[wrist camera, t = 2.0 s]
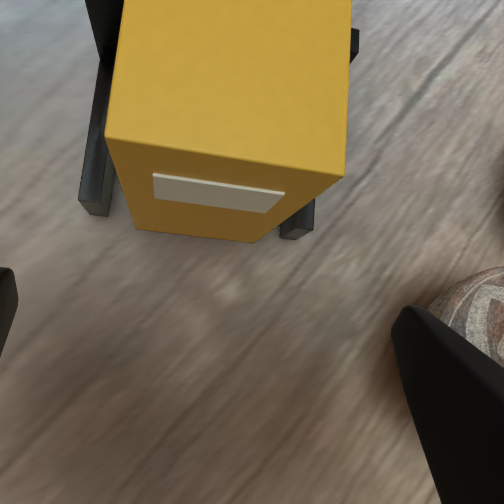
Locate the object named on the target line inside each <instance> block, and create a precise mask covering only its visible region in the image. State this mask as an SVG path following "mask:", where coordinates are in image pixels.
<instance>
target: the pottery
mask: <svg viewBox="0 0 504 504" xmlns="http://www.w3.org/2000/svg"><path fill="white" fill-rule="evenodd" d="M426 310H428V311H429V312H430V313H432V314H433V315H434V316H436V317H437V318H438V319H440V320H441V321H442V322H444V323H445V324H446V325H448V326H449V327H450V328H452V329H453V330H454V331H456V332H457V333H458V334H460V335H461V336H462V337H464V338H465V339H466V340H468V341H469V342H470V343H472V344H473V345H474V346H475V347H477V348H478V349H479V350H481V351H482V352H483V353H485V354H486V355H487V356H489V357H490V358H491V359H493V360H494V361H495V362H497V363H498V364H499V365H501V366H502V367H503V368H504V267H496V268H492V269H488V270H485V271H482V272H480V273H477V274H474V275H472V276H469V277H467V278H465V279H464V280H462V281H459V282H458V283H456V284H455V285H453V286H452V287H450V288H449V289H448V290H447V291H444V292H443V293H442V294H441V295H440V296H439V297H437V298H436V299H435V300H434V301H433V302H432V303H431V304H430V305H429V307H427V309H426Z"/></svg>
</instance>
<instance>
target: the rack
mask: <svg viewBox="0 0 504 504" xmlns="http://www.w3.org/2000/svg"><path fill="white" fill-rule="evenodd" d="M85 3H86V7H87V11H88V15H89V19H90V23H91V27H92V30H93V34H94V38H95V42H96V46H97V50H98V54H99V58H100V61H99V68H98V74H97V80H96V87H95V93H94V99H93V106H92V112H91V119H90V125H89V131H88V138H87V144H86V150H85V157H84V163H83V169H82V176H81V182H80V189H79V195H78V200H79V202H80V203H81V204H82V205H83V207H84V208H85V209H86V211H87V212H88V213H89V214H90V215H97V216H105V217H108V216H109V209H110V202H111V195H112V188H113V181H114V174H115V166H114V163H113V160H112V157H111V154H110V151H109V149H108V146H107V143H106V140H105V137H104V132H105V126H106V119H107V112H108V106H109V99H110V92H111V86H112V79H113V72H114V65H115V59H116V52H117V45H118V39H119V32H120V25H121V19H122V12H123V5H124V0H85ZM358 53H359V30H358V29H354V28H351V40H350V63H351V62H352V61H353V60H354V58H355V57H356V56H357V54H358ZM349 65H350V64H349ZM314 208H315V198H314V199H313V200H311V201H310V202H309V203H307V204H306V205H305V206H303V207H302V208H301V209H299V210H298V211H297V212H295V213H294V214H293V215H291V216H290V217H289V218H287V219H286V220H285V221H283V222H282V223H281V227H280V238H283V239H291V240H296V239H298V238H300V237H301V236H303V235H305V234H307V233H309V232H311V231H313V227H314Z"/></svg>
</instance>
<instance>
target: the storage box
mask: <svg viewBox="0 0 504 504" xmlns="http://www.w3.org/2000/svg"><path fill="white" fill-rule="evenodd" d="M351 15H352V0H124V5H123V12H122V19H121V25H120V32H119V39H118V45H117V52H116V59H115V65H114V72H113V79H112V86H111V92H110V99H109V106H108V112H107V119H106V126H105V132H104V137H105V140H106V143H107V146H108V149H109V151H110V154H111V157H112V160H113V163H114V166H115V169H116V172H117V175H118V178H119V181H120V184H121V186H122V189H123V192H124V195H125V198H126V201H127V204H128V207H129V210H130V213H131V216H132V219H133V222H134V224H135V227H136V229H139V230H148V231H156V232H165V233H173V234H181V235H190V236H198V237H207V238H215V239H223V240H232V241H240V242H249V243H255V242H256V241H258V240H259V239H260V238H262V237H263V236H264V235H266V234H267V233H268V232H270V231H271V230H272V229H274V228H275V227H276V226H278V225H279V224H280V223H282V222H283V221H285V220H286V219H287V218H289V217H290V216H291V215H293V214H294V213H295V212H297V211H298V210H299V209H301V208H302V207H303V206H305V205H306V204H307V203H309V202H310V201H311V200H313V199H314V198H316V197H317V196H318V195H320V194H321V193H322V192H324V191H325V190H326V189H328V188H329V187H330V186H332V185H333V184H334V183H336V182H337V181H338V180H340V179H341V178H343V177H344V175H345V162H346V137H347V113H348V88H349V64H350V40H351Z"/></svg>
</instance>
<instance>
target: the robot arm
mask: <svg viewBox="0 0 504 504" xmlns="http://www.w3.org/2000/svg"><path fill="white" fill-rule="evenodd" d="M17 306H18V293H17V288H16V282H15V276H14V272H13V271H12V269H10V268H5V267H0V356H1V354H2V351H3V348H4V345H5V342H6V339H7V336H8V333H9V330H10V327H11V324H12V322H13V319H14V316H15V313H16V310H17ZM391 340H392V344H393V349H394V353H395V357H396V362H397V366H398V370H399V375H400V379H401V383H402V387H403V391H404V394H405V397H406V401H407V404H408V406H409V409H410V412H411V415H412V418H413V421H414V424H415V427H416V430H417V433H418V436H419V439H420V442H421V445H422V448H423V451H424V453H425V456H426V459H427V462H428V465H429V468H430V471H431V474H432V477H433V480H434V483H435V486H436V489H437V492H438V495H439V498H440V501H441V503H442V504H504V368H503V367H502V366H501V365H499V364H498V363H497V362H495V361H494V360H493V359H491V358H490V357H489V356H487V355H486V354H485V353H483V352H482V351H481V350H479V349H478V348H477V347H475V346H474V345H473V344H472V343H470V342H469V341H468V340H466V339H465V338H464V337H462V336H461V335H460V334H458V333H457V332H456V331H454V330H453V329H452V328H450V327H449V326H448V325H446V324H445V323H444V322H442V321H441V320H440V319H438V318H437V317H436V316H434V315H433V314H432V313H430V312H429V311H428V310H426V309H425V308H424V307H421V306H414V305H407V306H405V307H403V309H402V310H401V312H400V314H399V315H398V317H397V319H396V320H395V322H394V324H393V325H392V328H391Z"/></svg>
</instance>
